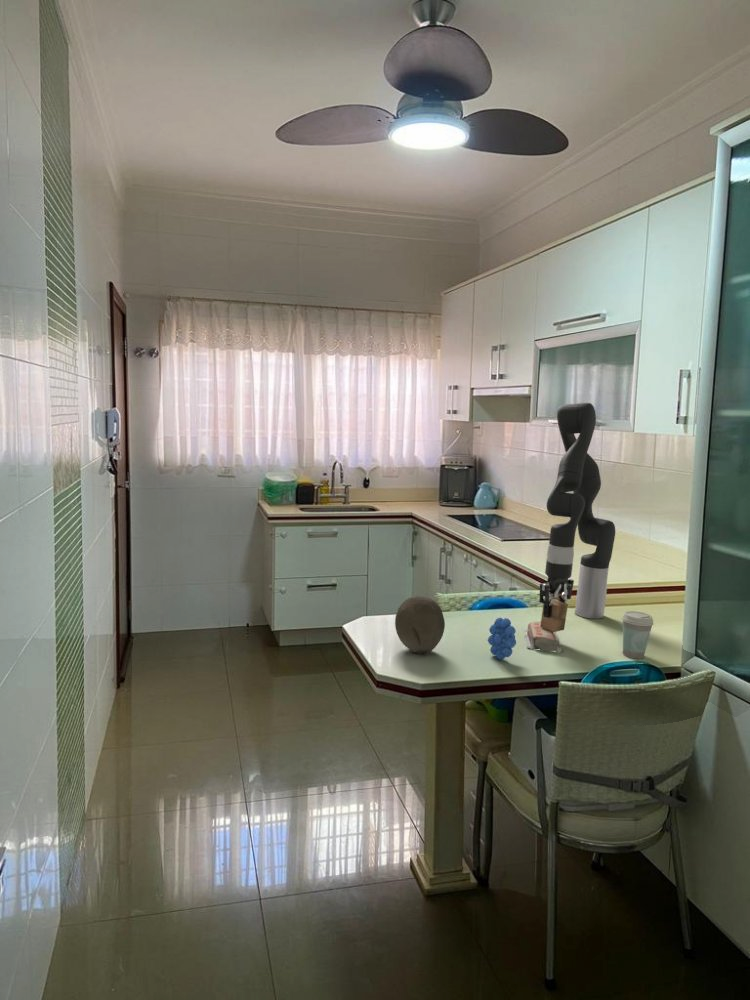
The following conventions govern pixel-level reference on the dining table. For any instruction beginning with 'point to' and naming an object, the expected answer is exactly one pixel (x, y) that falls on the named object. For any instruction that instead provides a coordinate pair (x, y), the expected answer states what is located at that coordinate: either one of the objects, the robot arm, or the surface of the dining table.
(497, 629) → the grapes
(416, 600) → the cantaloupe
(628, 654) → the coffee cup
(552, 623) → the walnut block
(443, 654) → the dining table surface
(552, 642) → the packaged product
